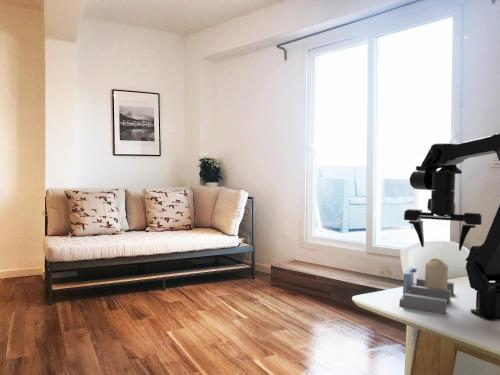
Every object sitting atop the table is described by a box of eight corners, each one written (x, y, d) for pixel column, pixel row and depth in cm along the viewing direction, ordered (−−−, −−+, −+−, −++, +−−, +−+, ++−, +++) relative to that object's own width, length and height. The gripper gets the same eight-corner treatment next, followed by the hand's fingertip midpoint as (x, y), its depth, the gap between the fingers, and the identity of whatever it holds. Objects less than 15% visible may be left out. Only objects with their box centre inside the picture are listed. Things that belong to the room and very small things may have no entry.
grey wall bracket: (445, 314, 100) (446, 288, 100) (394, 305, 106) (395, 281, 106) (453, 293, 119) (454, 271, 119) (410, 287, 125) (410, 266, 125)
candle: (450, 299, 113) (451, 261, 113) (429, 298, 113) (430, 261, 113) (441, 293, 119) (442, 257, 118) (421, 293, 119) (422, 257, 119)
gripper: (483, 191, 118) (480, 248, 118) (411, 189, 127) (409, 241, 127) (482, 192, 108) (479, 254, 108) (404, 189, 117) (402, 246, 117)
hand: (440, 248), depth 116 cm, fingers open, 9 cm apart
